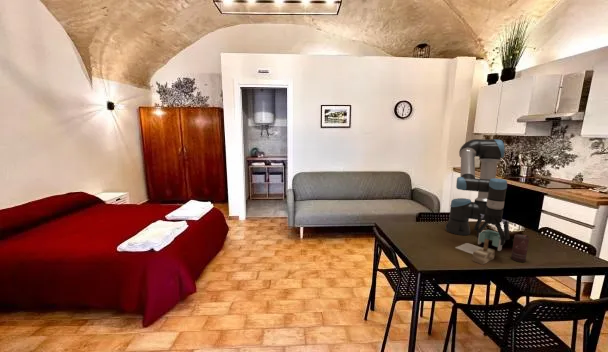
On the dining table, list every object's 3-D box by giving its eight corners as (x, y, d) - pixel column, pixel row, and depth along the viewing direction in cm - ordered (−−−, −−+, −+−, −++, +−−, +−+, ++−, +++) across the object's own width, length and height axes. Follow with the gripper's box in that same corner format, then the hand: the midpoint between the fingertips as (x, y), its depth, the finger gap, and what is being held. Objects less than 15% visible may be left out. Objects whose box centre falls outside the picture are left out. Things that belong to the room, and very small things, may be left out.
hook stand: (483, 255, 146) (486, 235, 145) (493, 258, 142) (496, 238, 140) (472, 260, 139) (474, 240, 138) (482, 264, 135) (485, 243, 133)
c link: (486, 237, 150) (487, 229, 149) (504, 243, 143) (506, 234, 142) (478, 240, 146) (480, 232, 145) (497, 247, 138) (498, 238, 137)
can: (528, 261, 140) (532, 236, 137) (520, 263, 138) (524, 238, 136) (516, 256, 145) (520, 232, 143) (508, 257, 144) (511, 233, 141)
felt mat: (466, 243, 163) (466, 242, 163) (492, 251, 151) (492, 251, 151) (455, 248, 155) (455, 247, 155) (480, 257, 144) (480, 256, 143)
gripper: (469, 203, 146) (464, 241, 150) (516, 214, 128) (509, 256, 132) (476, 201, 150) (471, 238, 154) (522, 211, 132) (515, 253, 136)
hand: (489, 246), depth 143 cm, fingers closed on c link, 9 cm apart
